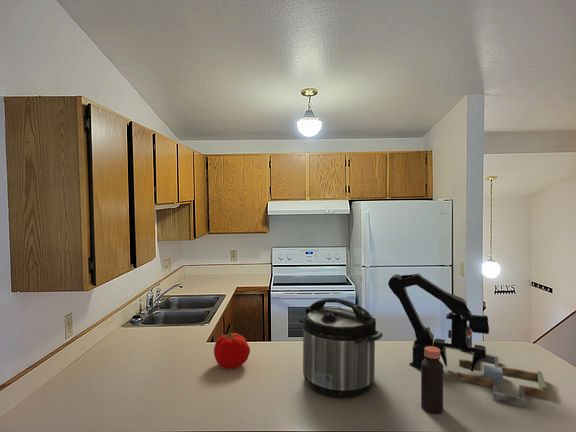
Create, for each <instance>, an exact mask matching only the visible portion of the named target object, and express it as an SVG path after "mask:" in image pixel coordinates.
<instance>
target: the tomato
mask: <svg viewBox="0 0 576 432" xmlns="http://www.w3.org/2000/svg"><path fill="white" fill-rule="evenodd" d="M220 335H221V336H219V337H218V338H217V340H216V341H215V344H214V348H213V355H214V358H215V361H216V363H217V365H218V366H219V367H220V368H222V369H226V370H232V369H238V368H240V367H242V365H244V363H246V362H247V361H248V360H249V359H248V358H249V356H250V352H251V348H250V345H249V343H248V342H247V339H246V338H245V337H244V336H242V335H241V334H239V333H237V332H230V333H228V334H222V333H220Z"/></svg>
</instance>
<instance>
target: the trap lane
mask: <svg viewBox="0 0 576 432" xmlns="http://www.w3.org/2000/svg"><path fill="white" fill-rule="evenodd" d="M472 359H473V357H472ZM478 361H482V362H487V363H493V364H494V367H500V368H502V372H503V375H506V376H513V377H517V378H521V379H522V378H523V379H527V380H532V381H537V383H538V387H539V388H537V387H534V386H533V387H532V386H528V385H523V384H519V385H518V392H519V396H515V395H510V394H506V393H501V392H498V383H497V380H494V379H489V378H484V376H479V375H478V376H477V375H474V374H469V373H465V372H464V373H463V372H458V371H456V372H457V373H456V378H457V379H456V380H457V381H460V382H461V381H462V382H464V383H465V382H466V383H471V384H476V385H479V386H484V387H489V388H492V394H493V395H492V398H493V401H495V402H499V403H504V404H507V405H511V406H512V405H513V406H517V407H521V408H525V409H526V408H527V397H526V395H528V396H533V397H537V398H542V399H548V387H547V384H546V382H545V381H546V380H545V378H544V375H543V372H542V371H539V370H537V372H536V371H535V372H534V371H528V370H523V369H518V368H512V367H508V366H507V367H506V366H501V365H500V362H499V356H497V355H492V354H487V353H486V358H482V359H481V360H480V359H479V360H478ZM458 365H459V366H460V367H462V368H463V367H464V368H470V369H471V366H472V360H468V359H464V358H463V359H462V358H459V359H458ZM476 365H477V364H476ZM476 365H475V367H474V369H473V370H475V369H476V367H477V366H476Z"/></svg>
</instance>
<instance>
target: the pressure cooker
mask: <svg viewBox="0 0 576 432" xmlns="http://www.w3.org/2000/svg"><path fill="white" fill-rule="evenodd" d="M326 303H332V304H333V303H337V304H340V305H343V306H338V305H337V306H336V305H331V306H330V305H329V306H325V305H326ZM376 321H377V319H376V318H375V317H374V316H372V315H371V314H370V312H369V311H368V310H366V309H365V308H364V307H361V306H360V305H358V304H357V303H354V302H352V301H349V300H345V299H342V298H341V299H340V298H337V297H335V298H331V297H330V298H322V299H319V300H317V301H315V302H312V304H310V306H308V307H307V308H305V315H304V316H303V317H301V318H299V323H300V324H303V327H302V330H303V333H302V335H303V338H302V347H303V348H302V352H303V353H302V374H303V378H304V380H305V381H306V382H308V384H309V386H310V387H311V388H312V389H313V390H314V391H315V392H318V393H319V394H321V395H325V396H329V397H337V398H351V397H352V398H353V397H356V396H359V395H362V394H364V393H366V392H367V391H368V390H370V389H371V388H372V385H373V384H374V383H373V382H374V379H375V360H376V359H375V352H376V351H375V349H376V341H379V340H380V339H381V338H383V333H382V332H381V331H378V330H377V322H376Z"/></svg>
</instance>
